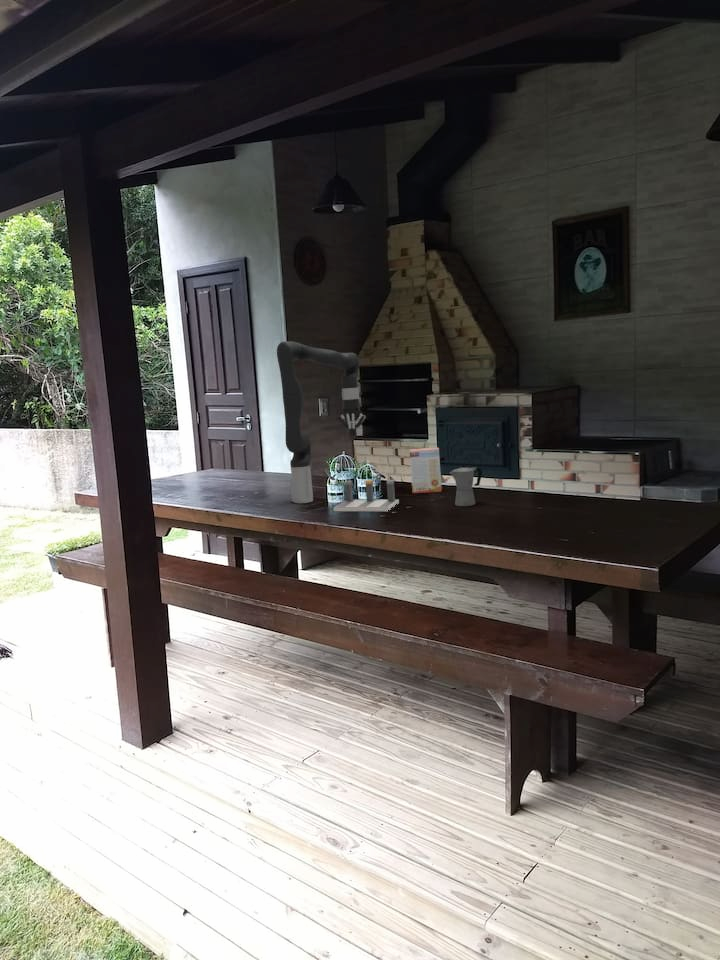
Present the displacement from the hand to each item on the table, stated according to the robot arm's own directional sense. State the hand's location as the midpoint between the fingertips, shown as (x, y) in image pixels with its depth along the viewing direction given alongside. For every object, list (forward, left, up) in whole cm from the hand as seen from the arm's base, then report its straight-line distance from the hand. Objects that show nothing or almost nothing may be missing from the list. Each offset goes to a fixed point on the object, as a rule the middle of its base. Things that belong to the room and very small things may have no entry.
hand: (353, 436), depth 335 cm
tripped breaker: (+6, 0, -29) cm, 30 cm away
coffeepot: (+50, +1, -31) cm, 59 cm away
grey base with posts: (+6, -6, -31) cm, 32 cm away
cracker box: (+25, +28, -31) cm, 49 cm away
